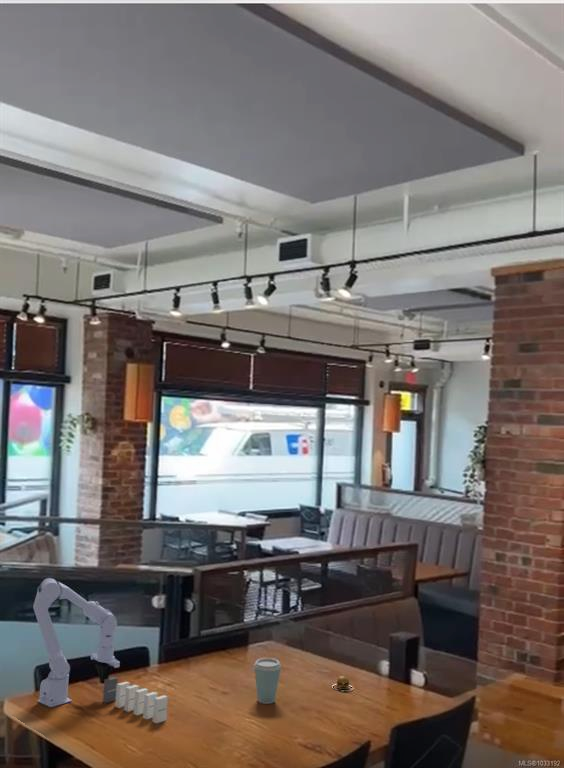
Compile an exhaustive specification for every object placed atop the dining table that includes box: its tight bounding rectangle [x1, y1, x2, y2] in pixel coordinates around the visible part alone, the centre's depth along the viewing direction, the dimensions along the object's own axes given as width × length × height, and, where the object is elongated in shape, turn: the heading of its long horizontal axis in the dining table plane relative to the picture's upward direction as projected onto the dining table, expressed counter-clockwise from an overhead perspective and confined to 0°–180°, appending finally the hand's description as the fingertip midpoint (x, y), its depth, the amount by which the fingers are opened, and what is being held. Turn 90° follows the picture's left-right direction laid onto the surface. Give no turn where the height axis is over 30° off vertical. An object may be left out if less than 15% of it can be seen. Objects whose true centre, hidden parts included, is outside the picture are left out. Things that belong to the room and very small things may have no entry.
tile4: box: [133, 687, 149, 716], centre depth 272 cm, size 4×2×8 cm, turn 142°
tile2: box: [114, 681, 131, 709], centre depth 278 cm, size 4×2×8 cm, turn 142°
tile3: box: [123, 684, 140, 712], centre depth 275 cm, size 4×2×8 cm, turn 142°
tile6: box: [152, 694, 169, 724], centre depth 265 cm, size 4×2×8 cm, turn 142°
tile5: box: [142, 691, 159, 720], centre depth 269 cm, size 4×2×8 cm, turn 142°
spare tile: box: [102, 676, 119, 704], centre depth 282 cm, size 4×2×8 cm, turn 142°
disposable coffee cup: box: [253, 657, 282, 705], centre depth 292 cm, size 11×11×15 cm
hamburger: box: [331, 675, 355, 692], centre depth 313 cm, size 12×12×6 cm
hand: (103, 682), depth 285 cm, fingers closed
